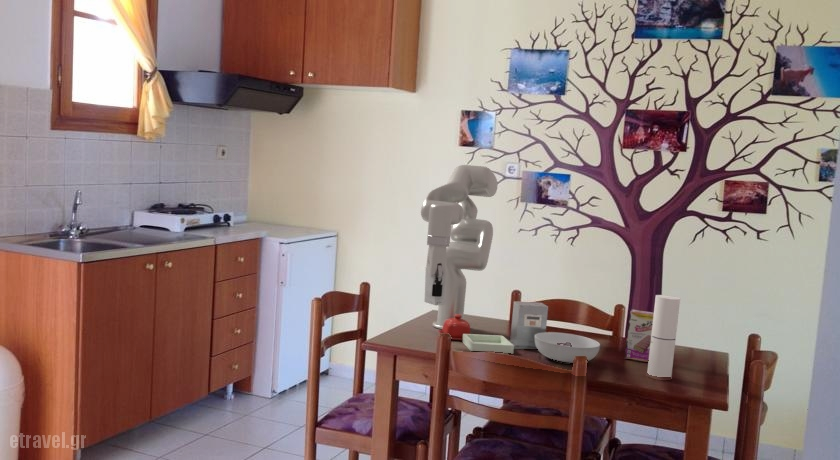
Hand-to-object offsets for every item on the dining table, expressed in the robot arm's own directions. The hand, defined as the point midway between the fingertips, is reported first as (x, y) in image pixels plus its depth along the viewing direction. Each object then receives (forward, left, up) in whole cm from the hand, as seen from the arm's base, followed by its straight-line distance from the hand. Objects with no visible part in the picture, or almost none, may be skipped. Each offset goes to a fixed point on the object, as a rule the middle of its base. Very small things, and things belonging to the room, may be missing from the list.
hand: (434, 293), depth 254 cm
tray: (+4, +19, -17) cm, 25 cm away
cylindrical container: (+33, +66, -17) cm, 75 cm away
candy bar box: (+13, +70, -17) cm, 73 cm away
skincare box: (0, 0, -4) cm, 4 cm away
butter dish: (-9, +11, -17) cm, 22 cm away
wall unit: (0, +34, -17) cm, 38 cm away
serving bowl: (+16, +42, -17) cm, 48 cm away
